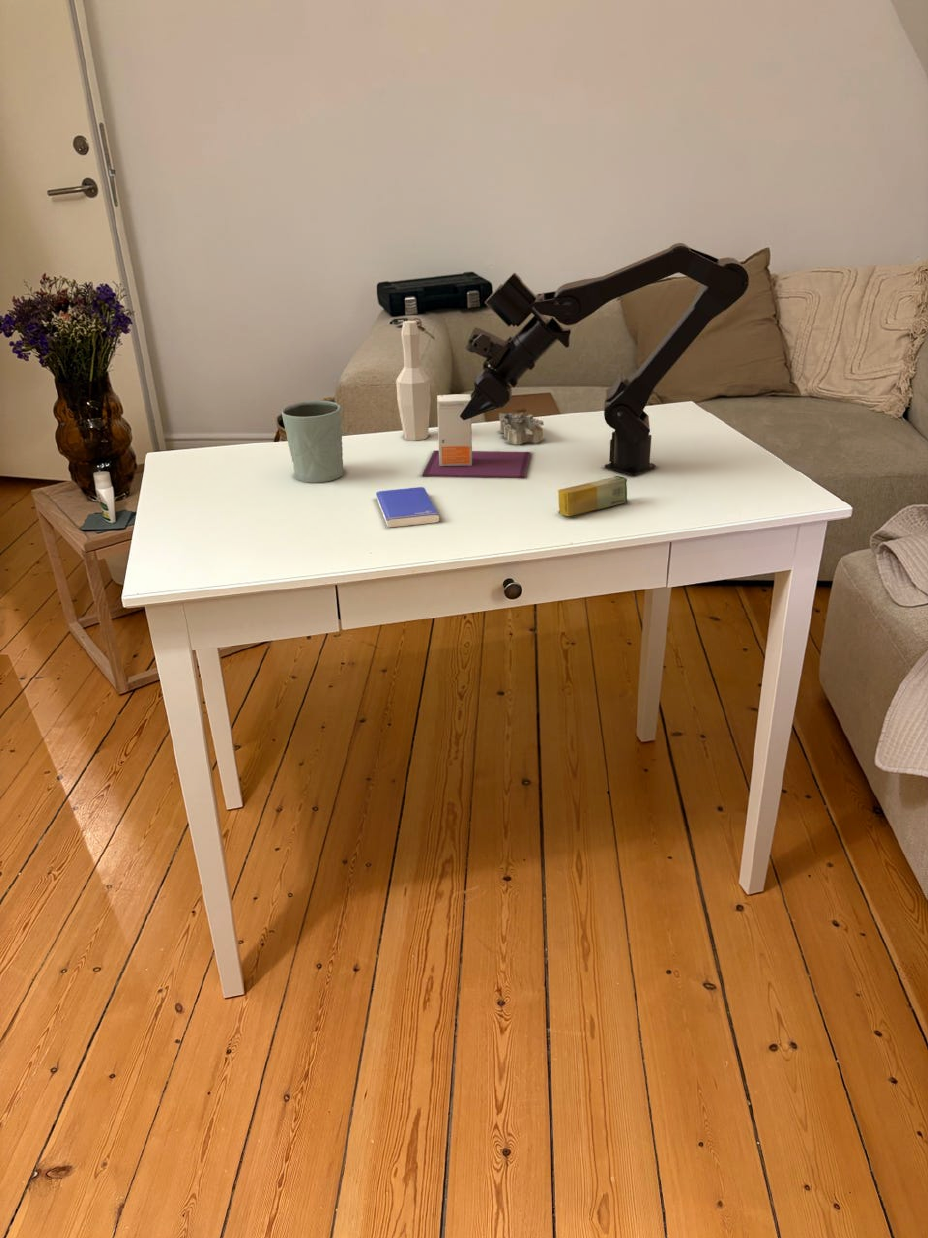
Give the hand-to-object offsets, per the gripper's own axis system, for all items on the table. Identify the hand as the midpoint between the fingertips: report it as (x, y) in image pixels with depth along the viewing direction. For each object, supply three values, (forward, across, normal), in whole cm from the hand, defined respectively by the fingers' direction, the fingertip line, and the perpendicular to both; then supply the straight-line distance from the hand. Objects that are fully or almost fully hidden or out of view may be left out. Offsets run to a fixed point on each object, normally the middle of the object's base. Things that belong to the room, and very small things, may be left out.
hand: (465, 410), depth 170 cm
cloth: (+6, 0, +8) cm, 10 cm away
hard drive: (+12, +22, +2) cm, 25 cm away
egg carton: (+2, -17, +13) cm, 22 cm away
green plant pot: (+26, +6, -11) cm, 29 cm away
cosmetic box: (+8, 0, +6) cm, 10 cm away
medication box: (-9, +20, +23) cm, 32 cm away
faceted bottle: (+16, -16, -2) cm, 23 cm away
